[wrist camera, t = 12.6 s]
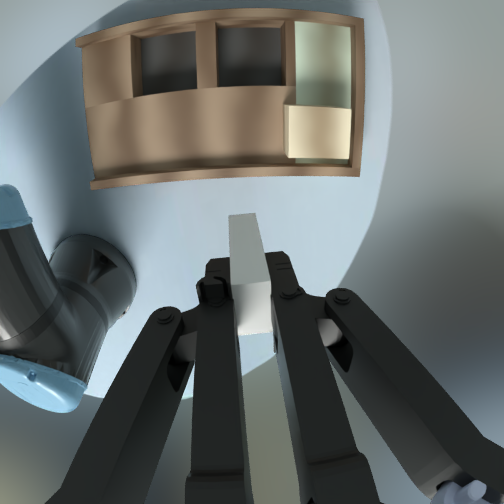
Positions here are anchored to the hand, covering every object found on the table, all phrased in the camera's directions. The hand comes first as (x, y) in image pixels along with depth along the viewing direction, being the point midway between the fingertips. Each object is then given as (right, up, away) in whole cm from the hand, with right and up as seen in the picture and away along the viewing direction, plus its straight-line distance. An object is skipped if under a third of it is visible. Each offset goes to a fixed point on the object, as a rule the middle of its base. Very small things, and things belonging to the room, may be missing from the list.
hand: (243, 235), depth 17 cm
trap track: (-3, +17, +13) cm, 22 cm away
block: (+7, +12, +12) cm, 18 cm away
